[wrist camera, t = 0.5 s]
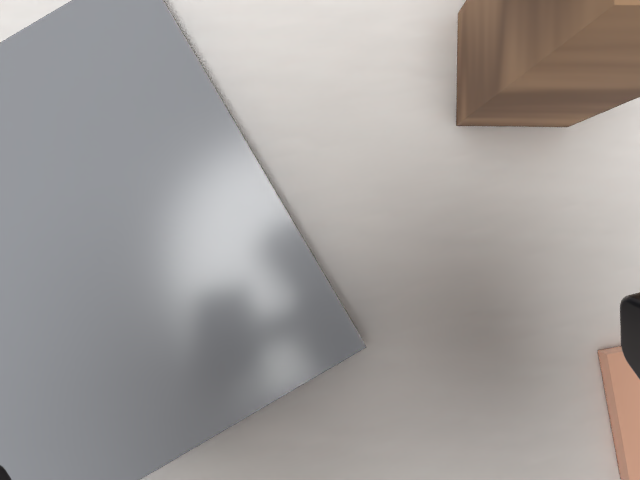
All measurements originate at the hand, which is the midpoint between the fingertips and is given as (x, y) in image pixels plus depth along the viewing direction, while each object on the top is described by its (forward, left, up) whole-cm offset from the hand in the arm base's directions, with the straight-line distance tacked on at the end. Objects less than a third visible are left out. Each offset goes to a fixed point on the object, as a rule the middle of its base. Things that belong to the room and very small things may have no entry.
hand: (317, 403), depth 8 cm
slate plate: (+6, +7, -13) cm, 16 cm away
